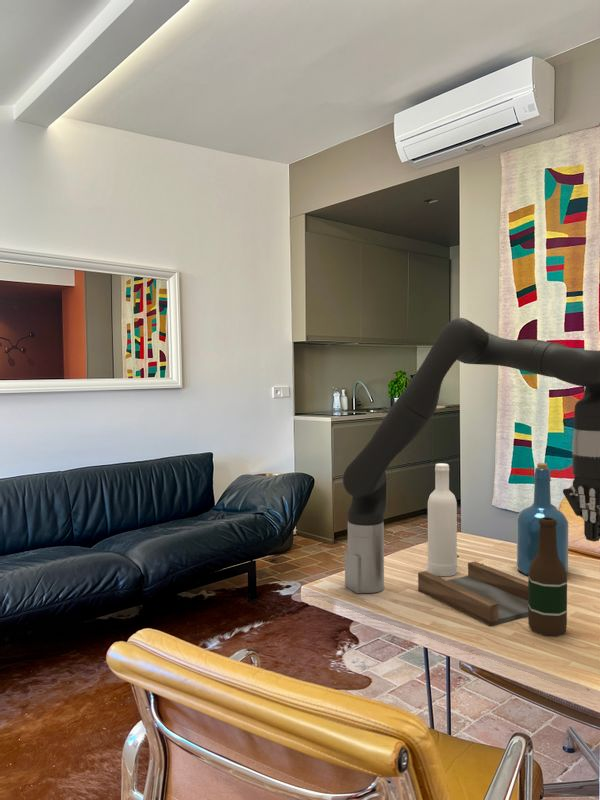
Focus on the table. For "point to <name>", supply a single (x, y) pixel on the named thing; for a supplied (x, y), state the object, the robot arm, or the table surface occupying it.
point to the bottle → (442, 526)
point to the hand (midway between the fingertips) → (592, 540)
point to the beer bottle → (547, 585)
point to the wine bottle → (531, 527)
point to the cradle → (480, 593)
